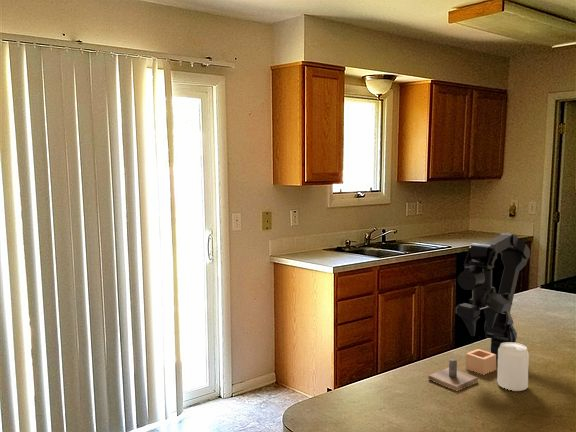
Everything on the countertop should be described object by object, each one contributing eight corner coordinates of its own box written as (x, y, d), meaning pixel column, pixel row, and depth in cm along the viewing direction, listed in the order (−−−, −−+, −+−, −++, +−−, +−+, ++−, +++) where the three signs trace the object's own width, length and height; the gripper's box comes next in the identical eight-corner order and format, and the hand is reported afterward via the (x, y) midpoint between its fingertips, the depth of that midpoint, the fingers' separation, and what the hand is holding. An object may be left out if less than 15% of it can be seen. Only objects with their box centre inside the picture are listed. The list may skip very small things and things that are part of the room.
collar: (477, 363, 167) (478, 348, 166) (495, 369, 162) (496, 354, 161) (465, 368, 163) (465, 353, 162) (483, 375, 158) (484, 359, 157)
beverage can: (510, 394, 145) (510, 353, 143) (491, 382, 152) (492, 343, 151) (534, 390, 147) (535, 349, 146) (514, 379, 155) (515, 340, 153)
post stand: (449, 371, 161) (449, 351, 160) (477, 382, 153) (477, 361, 152) (428, 380, 155) (428, 359, 155) (456, 391, 147) (456, 369, 147)
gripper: (487, 294, 147) (487, 346, 149) (523, 283, 158) (522, 332, 160) (454, 286, 156) (454, 336, 158) (490, 277, 167) (490, 324, 169)
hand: (481, 332), depth 161 cm, fingers open, 9 cm apart
